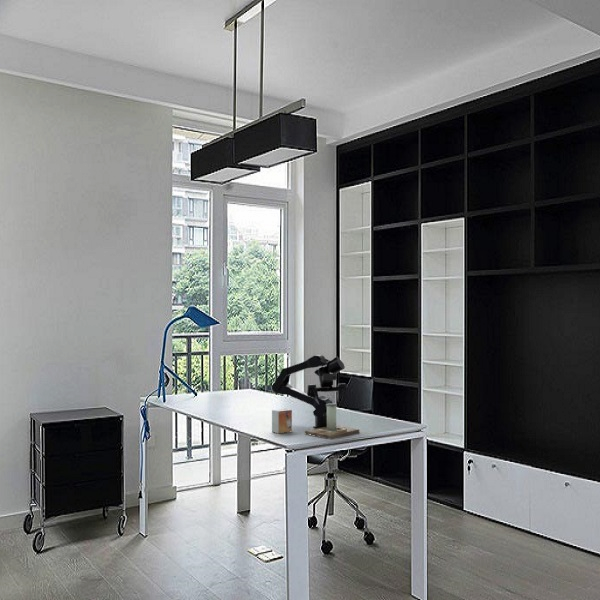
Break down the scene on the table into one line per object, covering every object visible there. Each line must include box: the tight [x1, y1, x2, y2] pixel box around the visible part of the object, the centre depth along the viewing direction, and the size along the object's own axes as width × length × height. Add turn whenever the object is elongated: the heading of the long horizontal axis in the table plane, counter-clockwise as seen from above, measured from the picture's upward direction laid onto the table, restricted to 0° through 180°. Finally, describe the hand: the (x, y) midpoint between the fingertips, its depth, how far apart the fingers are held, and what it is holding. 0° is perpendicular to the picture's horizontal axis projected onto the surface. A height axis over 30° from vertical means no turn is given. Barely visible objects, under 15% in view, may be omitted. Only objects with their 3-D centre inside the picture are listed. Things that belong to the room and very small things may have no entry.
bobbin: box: [325, 402, 339, 431], centre depth 313 cm, size 6×6×12 cm
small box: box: [271, 408, 293, 434], centre depth 320 cm, size 8×6×10 cm
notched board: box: [304, 425, 360, 439], centre depth 315 cm, size 16×20×2 cm
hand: (329, 404), depth 316 cm, fingers open, 9 cm apart
